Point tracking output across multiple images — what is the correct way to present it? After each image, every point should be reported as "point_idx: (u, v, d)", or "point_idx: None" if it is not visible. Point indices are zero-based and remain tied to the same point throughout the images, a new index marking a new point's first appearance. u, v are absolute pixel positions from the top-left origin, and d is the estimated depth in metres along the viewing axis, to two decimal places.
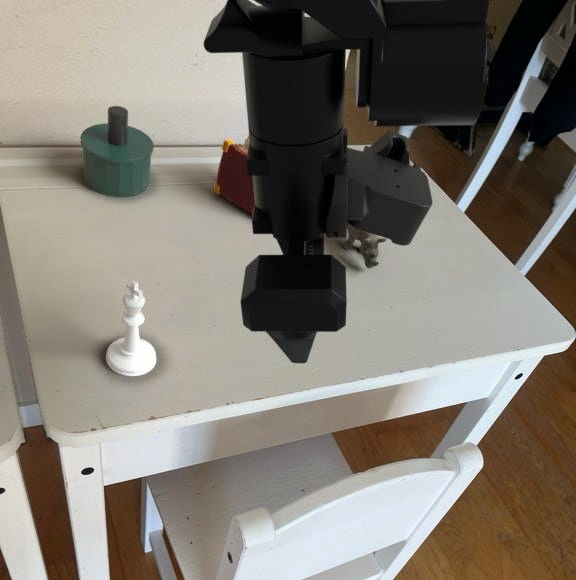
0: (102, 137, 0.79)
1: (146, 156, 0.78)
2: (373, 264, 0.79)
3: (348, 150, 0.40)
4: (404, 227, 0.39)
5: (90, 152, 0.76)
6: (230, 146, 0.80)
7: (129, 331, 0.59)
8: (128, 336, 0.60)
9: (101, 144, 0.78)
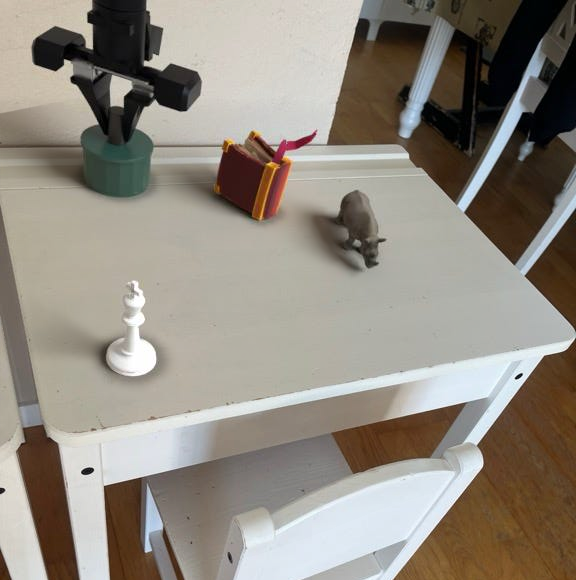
0: (102, 137, 0.79)
1: (146, 156, 0.78)
2: (373, 264, 0.79)
3: None
4: (159, 43, 0.76)
5: (90, 152, 0.76)
6: (230, 146, 0.80)
7: (129, 331, 0.59)
8: (128, 336, 0.60)
9: (101, 144, 0.78)
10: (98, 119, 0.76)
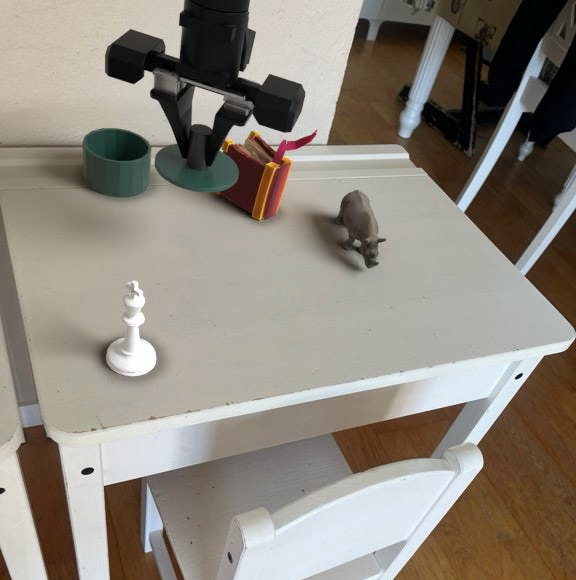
0: (179, 160, 0.67)
1: (232, 183, 0.66)
2: (373, 264, 0.79)
3: None
4: (251, 50, 0.64)
5: (168, 179, 0.64)
6: (230, 146, 0.80)
7: (129, 331, 0.59)
8: (128, 336, 0.60)
9: (180, 169, 0.65)
10: (178, 140, 0.64)
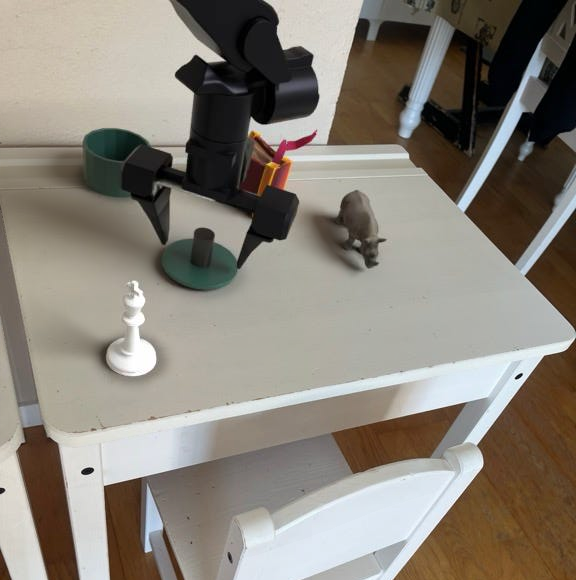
0: (184, 257, 0.73)
1: (232, 279, 0.73)
2: (373, 264, 0.79)
3: None
4: (250, 158, 0.70)
5: (174, 278, 0.71)
6: None
7: (129, 331, 0.59)
8: (128, 336, 0.60)
9: (184, 267, 0.72)
10: (157, 231, 0.70)
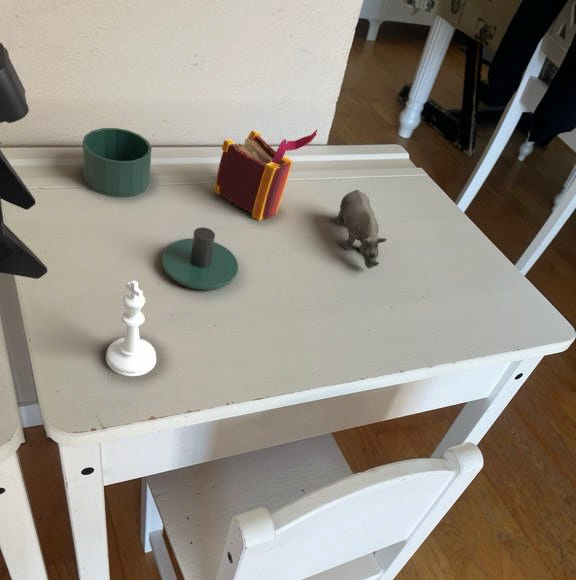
0: (184, 257, 0.73)
1: (232, 279, 0.73)
2: (373, 264, 0.79)
3: None
4: (2, 103, 0.39)
5: (174, 278, 0.71)
6: (230, 146, 0.80)
7: (129, 331, 0.59)
8: (128, 336, 0.60)
9: (184, 267, 0.72)
10: None
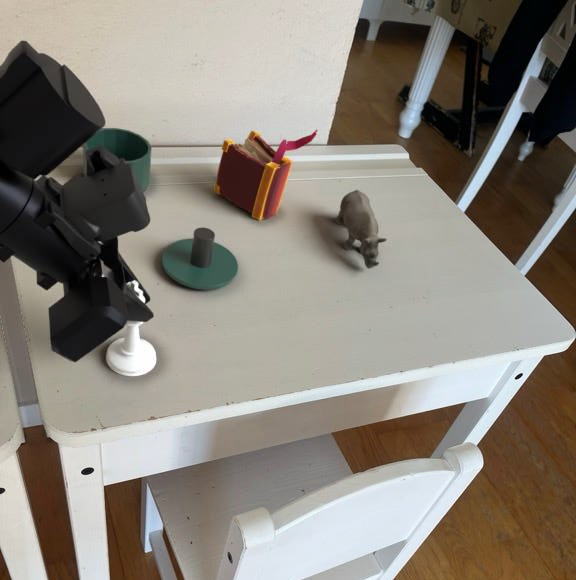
0: (184, 257, 0.73)
1: (232, 279, 0.73)
2: (373, 264, 0.79)
3: (63, 190, 0.49)
4: (131, 218, 0.48)
5: (174, 278, 0.71)
6: (230, 146, 0.80)
7: (129, 331, 0.59)
8: (128, 336, 0.60)
9: (184, 267, 0.72)
10: None
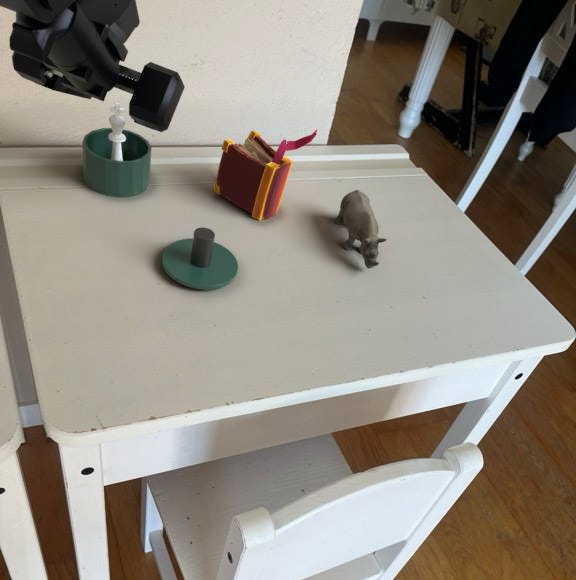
0: (184, 257, 0.73)
1: (232, 279, 0.73)
2: (373, 264, 0.79)
3: None
4: (135, 15, 0.67)
5: (174, 278, 0.71)
6: (230, 146, 0.80)
7: (118, 149, 0.79)
8: (118, 154, 0.79)
9: (184, 267, 0.72)
10: None
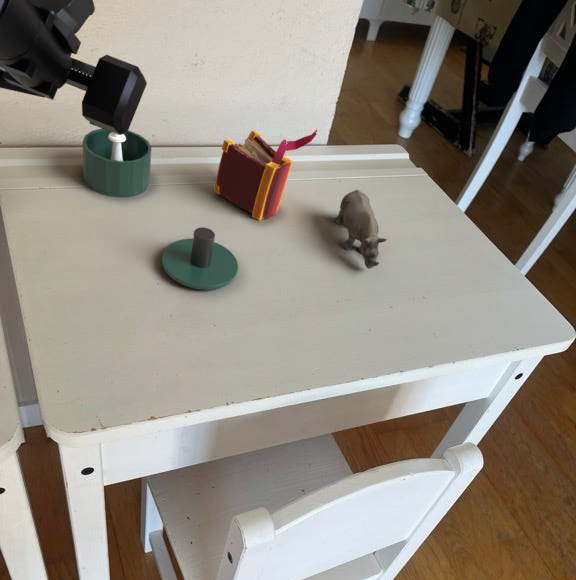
0: (184, 257, 0.73)
1: (232, 279, 0.73)
2: (373, 264, 0.79)
3: None
4: (89, 1, 0.58)
5: (174, 278, 0.71)
6: (230, 146, 0.80)
7: (118, 149, 0.79)
8: (118, 154, 0.79)
9: (184, 267, 0.72)
10: None
